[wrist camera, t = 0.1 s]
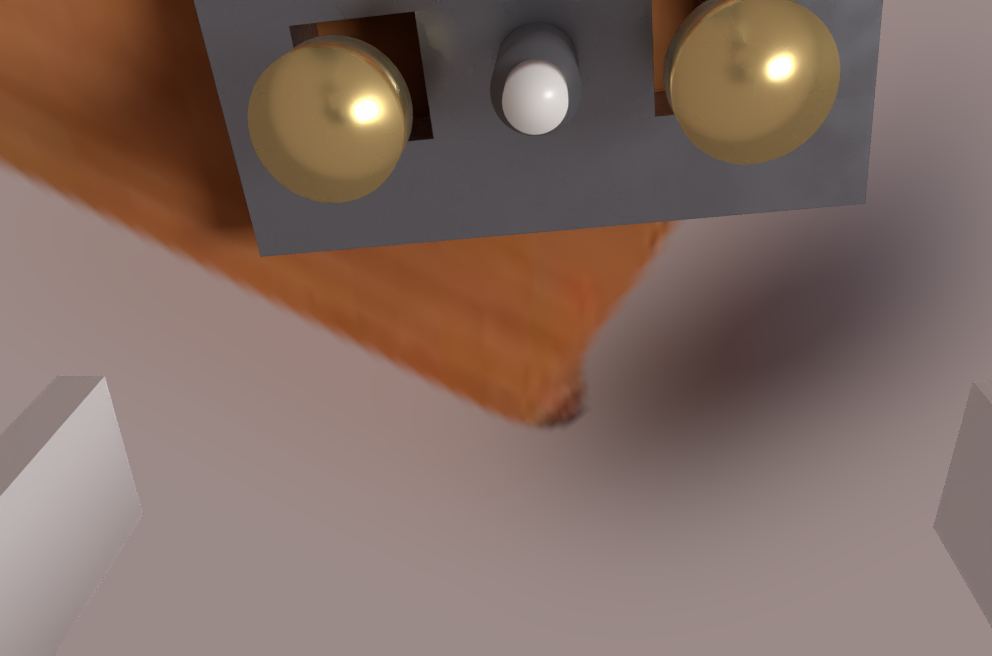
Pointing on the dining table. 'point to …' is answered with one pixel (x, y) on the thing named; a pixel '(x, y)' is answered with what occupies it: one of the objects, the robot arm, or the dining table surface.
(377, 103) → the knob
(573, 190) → the mount plate
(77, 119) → the dining table surface
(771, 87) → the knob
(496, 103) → the pot post
